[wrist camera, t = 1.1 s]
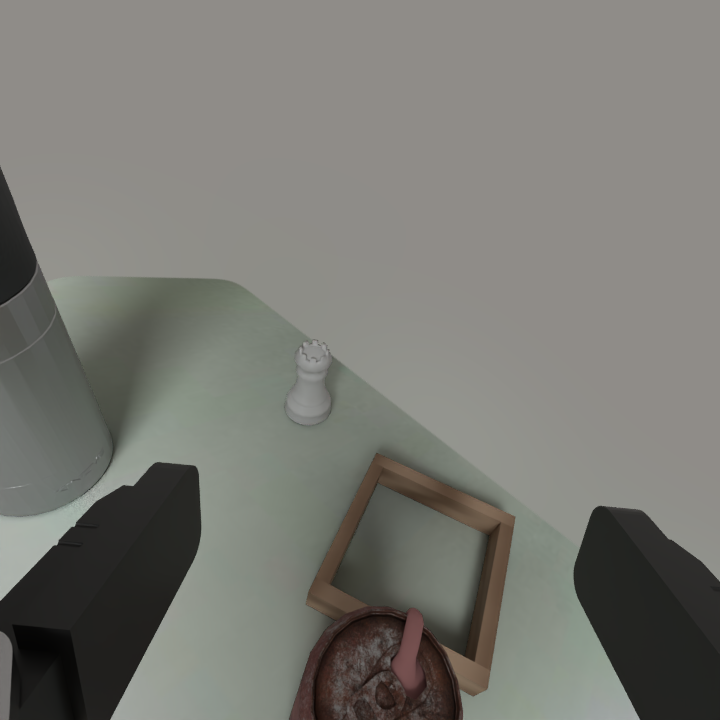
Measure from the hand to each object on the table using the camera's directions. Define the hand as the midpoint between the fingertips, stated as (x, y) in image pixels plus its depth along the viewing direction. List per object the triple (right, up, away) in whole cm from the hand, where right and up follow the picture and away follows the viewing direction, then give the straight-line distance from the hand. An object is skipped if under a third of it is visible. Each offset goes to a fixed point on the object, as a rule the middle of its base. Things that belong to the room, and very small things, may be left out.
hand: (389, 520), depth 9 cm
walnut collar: (+4, -12, +24) cm, 27 cm away
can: (-2, -18, +16) cm, 25 cm away
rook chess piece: (-6, -2, +33) cm, 33 cm away
